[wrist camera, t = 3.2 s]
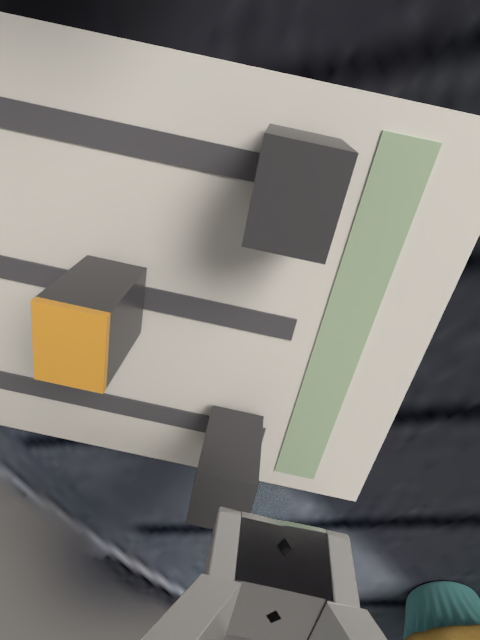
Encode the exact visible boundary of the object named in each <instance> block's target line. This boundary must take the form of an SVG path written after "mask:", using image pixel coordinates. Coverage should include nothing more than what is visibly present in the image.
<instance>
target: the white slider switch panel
mask: <svg viewBox="0 0 480 640" xmlns="http://www.w3.org/2000/svg"><path fill="white" fill-rule="evenodd" d="M270 123H271V124H275V125H280V126H285V127H289V128H294V129H298V130H303V131H308V132H312V133H317V134H321V135H326V136H331V137H335V138H340V139H342V140H343V141H345V142H346V143H347V144H348V145H349V146H351V147H352V148H353V149H354V150H355V151H357V152H358V153H359V154H358V157H357V160H356V164H355V167H354V170H353V174H352V177H351V180H350V183H349V187H348V190H347V193H346V197H345V200H344V203H343V207H342V210H341V213H340V217H339V220H338V223H337V227H336V230H335V233H334V237H333V240H332V243H331V246H330V250H329V253H328V256H327V260H326V263H325V265H324V264H320V263H315V262H310V261H306V260H301V259H297V258H292V257H287V256H283V255H278V254H274V253H269V252H264V251H260V250H255V249H250V248H246V247H241V246H242V241H243V236H244V231H245V226H246V221H247V216H248V211H249V206H250V201H251V196H252V191H253V186H254V181H255V176H256V171H257V166H258V161H259V156H260V151H261V146H262V141H263V136H264V132H265V131H266V129H267V127H268V126H269V124H270ZM479 235H480V116H479V115H474V114H470V113H465V112H460V111H456V110H451V109H447V108H442V107H437V106H433V105H428V104H423V103H419V102H414V101H410V100H405V99H400V98H396V97H391V96H387V95H382V94H377V93H373V92H368V91H364V90H359V89H354V88H350V87H345V86H341V85H336V84H331V83H327V82H322V81H318V80H313V79H308V78H304V77H299V76H295V75H290V74H285V73H281V72H276V71H271V70H267V69H262V68H258V67H253V66H248V65H244V64H239V63H235V62H230V61H225V60H221V59H216V58H212V57H207V56H202V55H198V54H193V53H189V52H184V51H179V50H175V49H170V48H166V47H161V46H156V45H152V44H147V43H143V42H138V41H133V40H129V39H124V38H119V37H115V36H110V35H106V34H101V33H96V32H92V31H87V30H83V29H78V28H73V27H69V26H64V25H60V24H55V23H50V22H46V21H41V20H37V19H32V18H27V17H23V16H18V15H14V14H9V13H4V12H0V425H2V426H7V427H12V428H16V429H21V430H26V431H30V432H35V433H40V434H44V435H49V436H54V437H58V438H63V439H67V440H72V441H77V442H81V443H86V444H91V445H95V446H100V447H105V448H109V449H114V450H118V451H123V452H128V453H132V454H137V455H142V456H146V457H151V458H156V459H160V460H165V461H170V462H174V463H179V464H183V465H188V466H193V467H198V462H199V458H200V454H201V450H202V446H203V442H204V438H205V434H206V430H207V425H208V421H209V417H210V413H211V409H212V405H214V406H219V407H223V408H228V409H233V410H237V411H242V412H246V413H251V414H256V415H260V416H264V419H263V432H262V445H261V459H260V472H259V481H262V482H267V483H272V484H276V485H281V486H286V487H290V488H295V489H300V490H304V491H309V492H313V493H318V494H323V495H327V496H332V497H337V498H341V499H346V500H351V501H355V502H356V500H357V498H358V496H359V493H360V491H361V489H362V487H363V485H364V483H365V480H366V478H367V476H368V474H369V472H370V470H371V468H372V465H373V463H374V461H375V459H376V457H377V455H378V452H379V450H380V448H381V446H382V444H383V442H384V440H385V437H386V435H387V433H388V431H389V429H390V427H391V424H392V422H393V420H394V418H395V416H396V414H397V412H398V409H399V407H400V405H401V403H402V401H403V399H404V396H405V394H406V392H407V390H408V388H409V386H410V384H411V381H412V379H413V377H414V375H415V373H416V371H417V368H418V366H419V364H420V362H421V360H422V358H423V356H424V353H425V351H426V349H427V347H428V345H429V343H430V340H431V338H432V336H433V334H434V332H435V330H436V328H437V325H438V323H439V321H440V319H441V317H442V315H443V312H444V310H445V308H446V306H447V304H448V302H449V300H450V297H451V295H452V293H453V291H454V289H455V287H456V284H457V282H458V280H459V278H460V276H461V274H462V271H463V269H464V267H465V265H466V263H467V261H468V259H469V256H470V254H471V252H472V250H473V248H474V246H475V243H476V241H477V239H478V237H479ZM87 255H90V256H95V257H99V258H104V259H108V260H113V261H118V262H122V263H127V264H132V265H136V266H141V267H145V268H147V274H146V284H145V295H144V305H143V316H142V326H141V333H140V335H139V337H138V338H137V340H136V341H135V343H134V345H133V346H132V348H131V350H130V351H129V353H128V354H127V356H126V358H125V359H124V361H123V362H122V364H121V366H120V367H119V369H118V371H117V372H116V374H115V375H114V377H113V379H112V380H111V382H110V383H109V385H108V387H107V388H106V390H105V392H104V393H103V394H101V393H96V392H91V391H87V390H82V389H77V388H73V387H68V386H63V385H59V384H54V383H50V382H45V381H40V380H36V379H34V377H33V353H32V328H31V304H30V300H32V299H33V298H34V297H35V296H37V295H38V294H39V293H40V292H42V291H43V290H44V289H45V288H47V287H48V286H49V285H50V284H52V283H53V282H54V281H55V280H57V279H58V278H59V277H60V276H62V275H63V274H64V273H65V272H67V271H68V270H69V269H70V268H72V267H73V266H74V265H75V264H77V263H78V262H79V261H80V260H82V259H83V258H84V257H85V256H87Z"/></svg>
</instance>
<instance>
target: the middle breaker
mask: <svg viewBox="0 0 480 640" xmlns="http://www.w3.org/2000/svg"><path fill="white" fill-rule="evenodd" d="M146 274H147V268H145V267H141V266H136V265H132V264H127V263H122V262H118V261H113V260H108V259H104V258H99V257H95V256H90V255H87V256H85V257H84V258H83V259H82V260H80V261H79V262H78V263H77V264H75V265H74V266H73V267H72V268H70V269H69V270H68V271H67V272H65V273H64V274H63V275H62V276H60V277H59V278H58V279H57V280H55V281H54V282H53V283H52V284H50V285H49V286H48V287H47V288H45V289H44V290H43V291H42V292H40V293H39V294H38V295H37V296H35V297H34V298H33V299H32V300H30V304H31V328H32V353H33V377H34V379H36V380H40V381H45V382H50V383H54V384H59V385H63V386H68V387H73V388H77V389H82V390H87V391H91V392H96V393H101V394H103V393H104V392H105V390H106V388H107V387H108V385H109V383H110V382H111V380H112V379H113V377H114V375H115V374H116V372H117V371H118V369H119V367H120V366H121V364H122V362H123V361H124V359H125V358H126V356H127V354H128V353H129V351H130V350H131V348H132V346H133V345H134V343H135V341H136V340H137V338H138V337H139V335H140V333H141V326H142V316H143V305H144V295H145V284H146Z"/></svg>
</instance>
